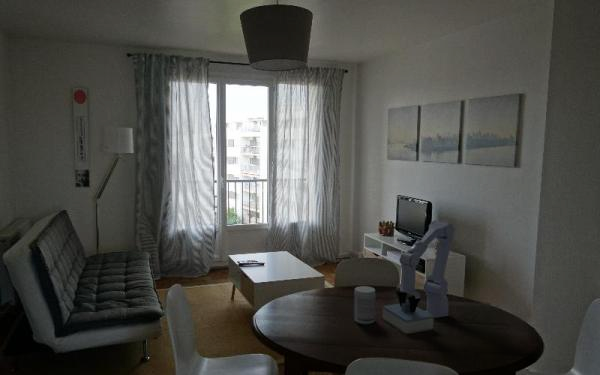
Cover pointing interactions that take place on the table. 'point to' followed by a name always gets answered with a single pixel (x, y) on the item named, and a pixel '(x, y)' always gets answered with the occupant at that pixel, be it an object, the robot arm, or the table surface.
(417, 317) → the snap lid
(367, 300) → the supplement tub
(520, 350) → the table surface
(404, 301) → the robot arm
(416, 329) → the parts tub
